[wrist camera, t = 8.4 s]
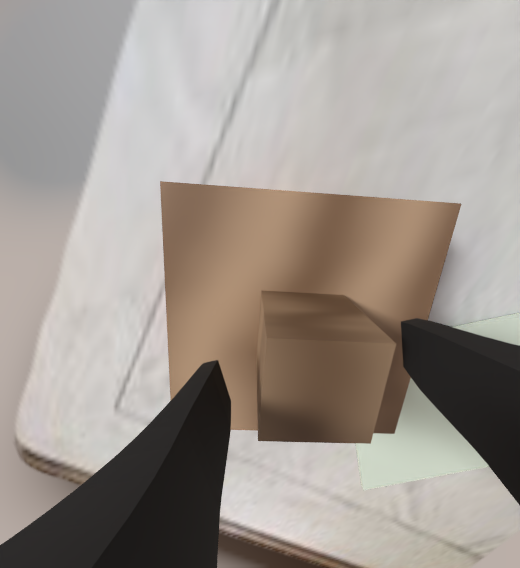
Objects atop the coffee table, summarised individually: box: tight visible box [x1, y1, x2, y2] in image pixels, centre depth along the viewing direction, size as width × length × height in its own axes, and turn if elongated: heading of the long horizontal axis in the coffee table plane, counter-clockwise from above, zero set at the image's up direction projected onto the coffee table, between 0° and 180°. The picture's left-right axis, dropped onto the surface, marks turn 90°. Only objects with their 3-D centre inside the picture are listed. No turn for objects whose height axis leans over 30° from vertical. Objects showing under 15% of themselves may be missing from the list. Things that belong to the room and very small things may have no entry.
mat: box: [355, 313, 520, 490], centre depth 20 cm, size 15×15×1 cm
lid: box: [160, 181, 461, 444], centre depth 11 cm, size 13×13×5 cm
